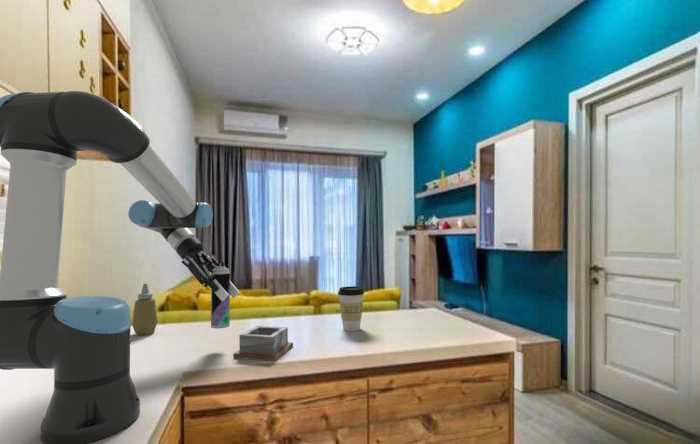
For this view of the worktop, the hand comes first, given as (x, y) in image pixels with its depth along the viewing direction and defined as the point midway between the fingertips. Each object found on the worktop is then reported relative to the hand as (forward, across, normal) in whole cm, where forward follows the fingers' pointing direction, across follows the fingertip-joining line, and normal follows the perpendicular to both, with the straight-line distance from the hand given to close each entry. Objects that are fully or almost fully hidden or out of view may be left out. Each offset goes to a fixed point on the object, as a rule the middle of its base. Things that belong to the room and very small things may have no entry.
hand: (231, 296), depth 111 cm
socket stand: (+20, 0, -3) cm, 20 cm away
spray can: (+4, 0, -9) cm, 10 cm away
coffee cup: (+34, -30, +11) cm, 46 cm away
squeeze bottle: (-18, -11, -41) cm, 46 cm away
